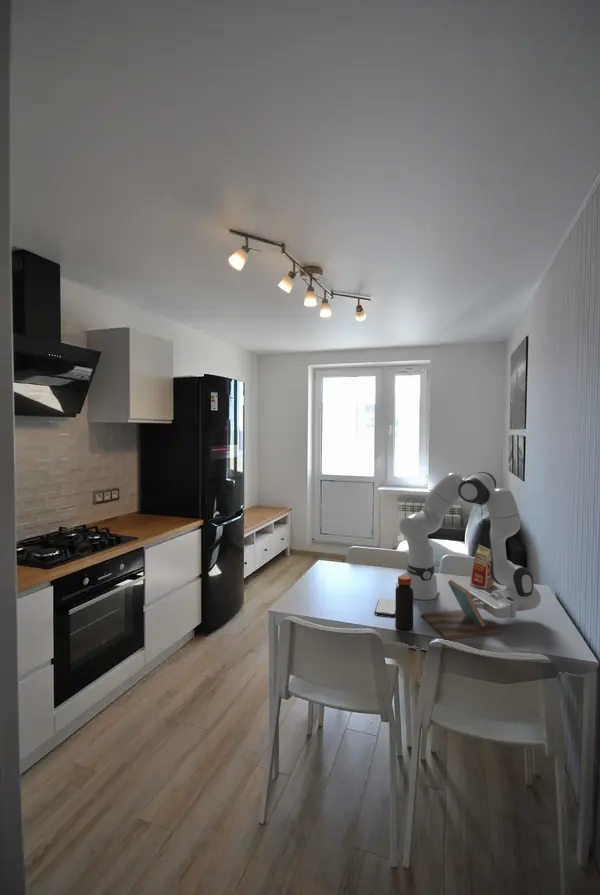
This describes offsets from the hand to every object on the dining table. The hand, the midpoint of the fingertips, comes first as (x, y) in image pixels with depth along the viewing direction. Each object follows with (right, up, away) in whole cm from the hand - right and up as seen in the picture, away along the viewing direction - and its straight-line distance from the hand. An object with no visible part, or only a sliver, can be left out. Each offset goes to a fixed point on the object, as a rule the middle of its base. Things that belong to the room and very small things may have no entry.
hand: (470, 604), depth 169 cm
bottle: (-27, -9, -2) cm, 28 cm away
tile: (+1, -7, 0) cm, 7 cm away
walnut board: (-5, -8, 0) cm, 9 cm away
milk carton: (+24, -7, +43) cm, 50 cm away
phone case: (-30, -8, +16) cm, 35 cm away
